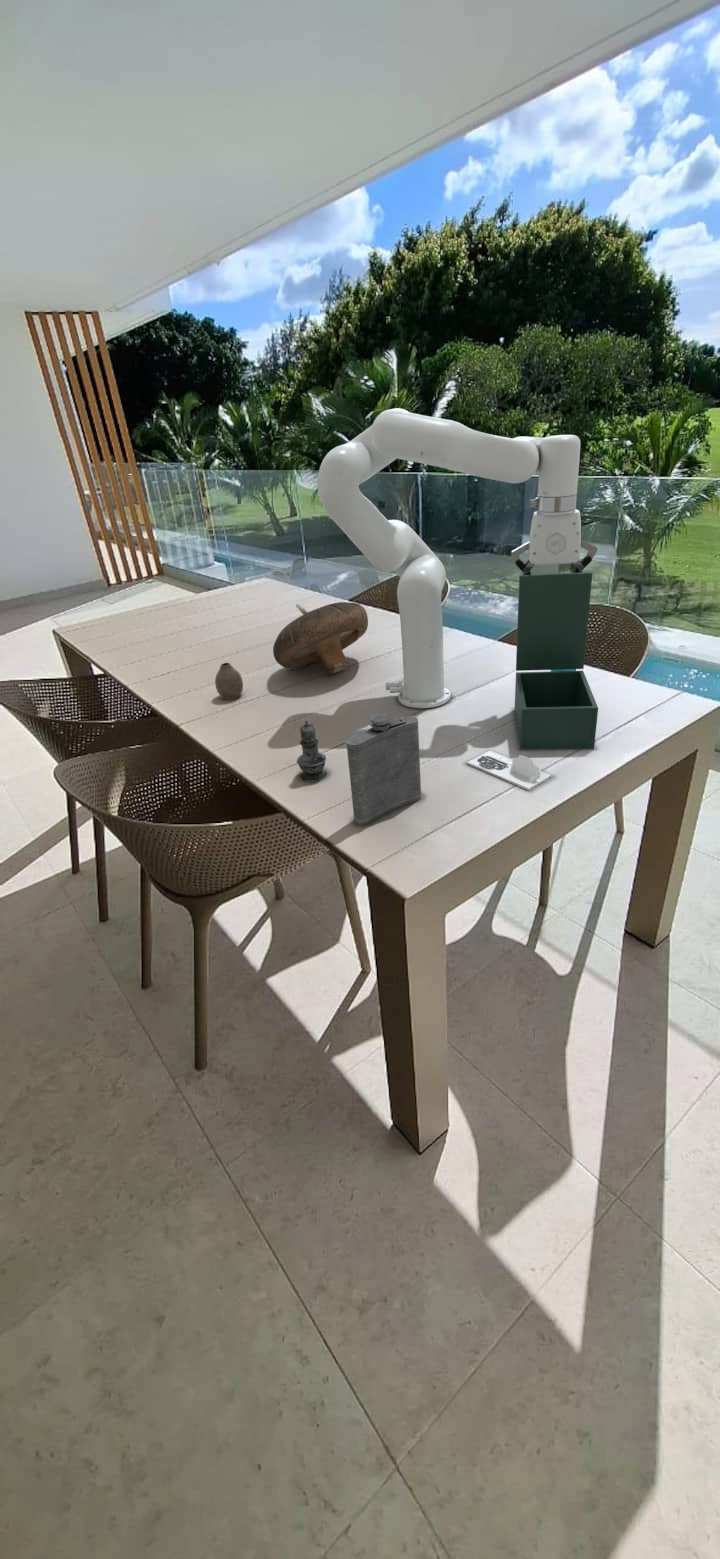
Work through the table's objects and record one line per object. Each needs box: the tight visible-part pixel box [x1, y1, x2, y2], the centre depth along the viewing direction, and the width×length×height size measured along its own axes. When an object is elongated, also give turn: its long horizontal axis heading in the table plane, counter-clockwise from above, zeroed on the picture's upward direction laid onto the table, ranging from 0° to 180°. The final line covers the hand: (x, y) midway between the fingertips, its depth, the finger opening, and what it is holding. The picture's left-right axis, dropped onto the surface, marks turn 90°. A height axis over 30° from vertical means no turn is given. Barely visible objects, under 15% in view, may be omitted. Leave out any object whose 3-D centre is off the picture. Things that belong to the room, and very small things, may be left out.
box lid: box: [515, 571, 593, 672], centre depth 143 cm, size 21×14×5 cm
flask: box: [345, 712, 422, 826], centre depth 116 cm, size 4×14×18 cm, turn 125°
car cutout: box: [466, 750, 553, 792], centre depth 127 cm, size 15×7×4 cm, turn 40°
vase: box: [214, 662, 244, 700], centre depth 171 cm, size 7×7×9 cm
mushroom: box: [272, 601, 369, 675], centre depth 180 cm, size 28×23×25 cm
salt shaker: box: [296, 719, 328, 783], centre depth 130 cm, size 6×6×12 cm
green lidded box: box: [514, 670, 599, 750], centre depth 140 cm, size 20×14×9 cm
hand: (551, 590), depth 143 cm, fingers open, 9 cm apart
